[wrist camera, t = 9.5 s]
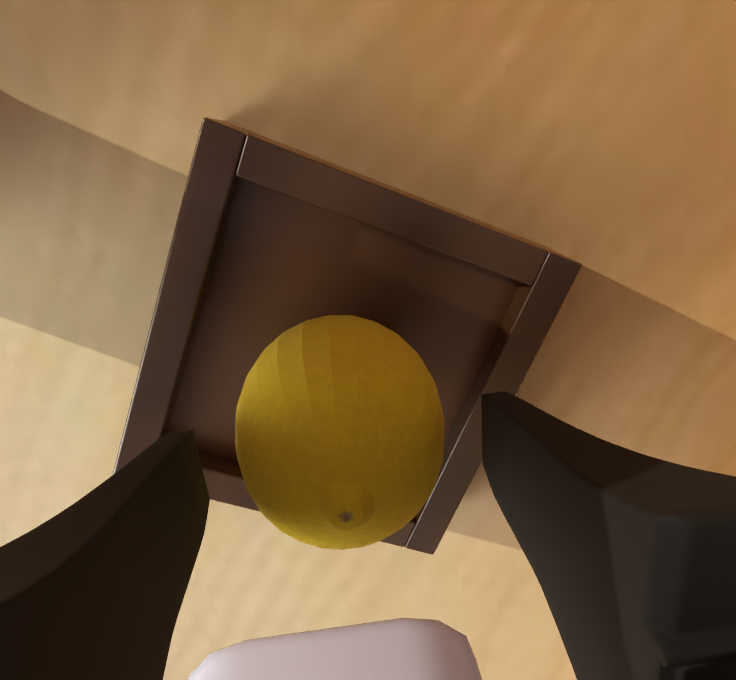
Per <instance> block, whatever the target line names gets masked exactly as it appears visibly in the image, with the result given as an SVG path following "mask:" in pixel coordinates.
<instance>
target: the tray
mask: <svg viewBox="0 0 736 680" xmlns="http://www.w3.org/2000/svg"><path fill="white" fill-rule="evenodd" d="M581 267H582V264H580V263H578V262H576V261H574V260H572V259H570V258H568V257H566V256H564V255H562V254H559V253H557V252H555V251H553V250H551V249H549V248H547V247H544V246H542V245H539V244H537V243H534V242H532V241H529V240H526V239H524V238H521V237H519V236H516V235H514V234H511V233H509V232H506V231H503V230H501V229H498V228H496V227H493V226H491V225H488V224H486V223H483V222H481V221H478V220H475V219H473V218H470V217H468V216H465V215H463V214H460V213H458V212H455V211H452V210H450V209H447V208H445V207H442V206H440V205H437V204H435V203H432V202H429V201H427V200H424V199H422V198H419V197H417V196H414V195H412V194H409V193H406V192H404V191H401V190H399V189H396V188H394V187H391V186H389V185H386V184H383V183H381V182H378V181H376V180H373V179H371V178H368V177H366V176H363V175H360V174H358V173H355V172H353V171H350V170H348V169H345V168H343V167H340V166H337V165H335V164H332V163H330V162H327V161H325V160H322V159H320V158H317V157H314V156H312V155H309V154H307V153H304V152H302V151H299V150H297V149H294V148H291V147H289V146H286V145H284V144H281V143H279V142H276V141H274V140H271V139H268V138H266V137H263V136H261V135H258V134H256V133H253V132H251V131H248V130H245V129H243V128H240V127H238V126H235V125H233V124H230V123H228V122H225V121H222V120H216V119H211V118H204V119H203V120H202V124H201V128H200V132H199V136H198V140H197V144H196V148H195V151H194V155H193V159H192V163H191V167H190V171H189V175H188V179H187V183H186V187H185V191H184V195H183V199H182V203H181V207H180V211H179V215H178V219H177V222H176V226H175V230H174V234H173V238H172V242H171V246H170V250H169V254H168V258H167V262H166V266H165V270H164V274H163V278H162V282H161V286H160V290H159V293H158V297H157V301H156V305H155V309H154V313H153V317H152V321H151V325H150V329H149V333H148V337H147V341H146V345H145V349H144V353H143V357H142V361H141V364H140V368H139V372H138V376H137V380H136V384H135V388H134V392H133V396H132V400H131V404H130V408H129V412H128V416H127V420H126V424H125V428H124V432H123V435H122V439H121V443H120V447H119V451H118V455H117V459H116V463H115V467H114V471H113V475H114V474H115V473H116V472H118V471H119V470H120V469H121V468H123V467H124V466H125V465H126V464H128V463H129V462H130V461H132V460H133V459H134V458H135V457H137V456H138V455H139V454H140V453H142V452H143V451H144V450H145V449H147V448H148V447H149V446H150V445H152V444H153V443H154V442H156V441H157V440H158V439H160V438H161V437H162V436H164V435H166V434H167V433H172V432H180V431H188V430H193V433H194V437H195V441H196V445H197V449H198V453H199V457H200V461H201V465H202V469H203V473H204V477H205V481H206V485H207V489H208V493H209V497H210V499H211V500H215V501H219V502H223V503H228V504H232V505H236V506H240V507H244V508H248V509H252V510H256V511H260V510H259V508H258V507H257V505H256V504H255V502H254V500H253V499H252V497H251V496H250V494H249V492H248V490H247V488H246V486H245V483H244V480H243V476H242V473H241V469H240V466H239V462H238V459H237V454H236V444H235V428H236V409H237V404H238V401H239V398H240V395H241V392H242V389H243V385H244V382H245V380H246V377H247V375H248V373H249V372H250V370H251V368H252V367H253V365H254V364H255V362H256V361H257V359H258V358H259V356H260V355H261V353H262V352H263V351H264V349H265V348H266V347H267V346H269V345H270V344H271V343H272V342H273V341H274V340H275V339H276V338H278V337H279V336H280V335H281V334H282V333H283V332H285V331H286V330H288V329H290V328H292V327H294V326H296V325H298V324H300V323H302V322H304V321H306V320H310V319H314V318H319V317H323V316H327V315H353V316H356V317H360V318H364V319H368V320H372V321H375V322H377V323H379V324H381V325H382V326H384V327H386V328H388V329H390V330H392V331H393V332H395V333H397V334H398V335H399V336H400V337H401V338H402V339H403V340H404V341H406V342H407V343H408V344H409V345H410V346H411V347H412V348H413V349H414V350H415V351H416V352H417V353H418V354H419V356H420V357H421V359H422V361H423V362H424V364H425V366H426V367H427V369H428V371H429V372H430V374H431V376H432V378H433V379H434V381H435V384H436V387H437V391H438V395H439V398H440V402H441V406H442V410H443V415H444V454H443V461H442V465H441V468H440V471H439V474H438V478H437V481H436V484H435V487H434V489H433V492H432V493H431V495H430V496H429V498H428V499H427V501H426V502H425V504H424V505H423V507H422V508H421V510H420V511H419V512H418V514H417V515H416V516H415V517H414V518H413V519H412V520H411V521H409V522H408V523H407V524H406V525H405V526H404V527H403V528H402V529H400V530H399V531H397V532H395V533H394V534H392V535H390V536H389V537H387V538H385V539H383V540H381V542H386V543H390V544H394V545H398V546H402V547H404V546H405V547H406V548H408V549H412V550H416V551H421V552H425V553H429V554H434V552H435V550H436V548H437V546H438V544H439V542H440V541H441V539H442V537H443V535H444V533H445V531H446V529H447V527H448V525H449V523H450V521H451V519H452V517H453V515H454V513H455V511H456V509H457V508H458V506H459V504H460V502H461V500H462V498H463V496H464V494H465V492H466V490H467V488H468V486H469V484H470V482H471V480H472V478H473V476H474V474H475V473H476V471H477V469H478V467H479V465H480V463H481V461H482V409H481V394H487V393H495V392H503V391H506V392H508V393H510V394H513V395H516V393H517V391H518V389H519V387H520V385H521V383H522V381H523V379H524V377H525V375H526V373H527V371H528V370H529V368H530V366H531V364H532V362H533V360H534V358H535V356H536V354H537V352H538V350H539V348H540V346H541V344H542V342H543V340H544V338H545V336H546V335H547V333H548V331H549V329H550V327H551V325H552V323H553V321H554V319H555V317H556V315H557V313H558V311H559V309H560V307H561V305H562V303H563V301H564V300H565V298H566V296H567V294H568V292H569V290H570V288H571V286H572V284H573V282H574V280H575V278H576V276H577V274H578V272H579V270H580V268H581Z"/></svg>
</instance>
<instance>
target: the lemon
mask: <svg viewBox="0 0 736 680" xmlns="http://www.w3.org/2000/svg"><path fill="white" fill-rule="evenodd" d="M235 444H236V454H237V459H238V462H239V466H240V469H241V473H242V476H243V480H244V483H245V486H246V488H247V490H248V492H249V494H250V496H251V497H252V499H253V500H254V502H255V504H256V505H257V507H258V508H259V510H260V512H261V513H262V514H263V515H264V516H265V517H266V518H267V519H268V520H269V521H271V522H272V523H273V524H274V525H275V526H276V527H277V528H278V529H279V530H280V531H282V532H283V533H285V534H287V535H289V536H291V537H293V538H294V539H296V540H298V541H300V542H303V543H307V544H310V545H314V546H317V547H320V548H327V549H341V550H343V549H351V548H359V547H364V546H367V545H370V544H373V543H376V542H379V541H381V540H383V539H385V538H387V537H389V536H390V535H392V534H394V533H395V532H397V531H399V530H400V529H402V528H403V527H404V526H405V525H406V524H407V523H408V522H409V521H411V520H412V519H413V518H414V517H415V516H416V515H417V514H418V512H419V511H420V510H421V508H422V507H423V505H424V504H425V502H426V501H427V499H428V498H429V496H430V495H431V493H432V492H433V489H434V487H435V484H436V481H437V478H438V474H439V471H440V468H441V465H442V461H443V454H444V415H443V410H442V406H441V402H440V398H439V395H438V391H437V387H436V384H435V381H434V379H433V378H432V376H431V374H430V372H429V371H428V369H427V367H426V366H425V364H424V362H423V361H422V359H421V357H420V356H419V354H418V353H417V352H416V351H415V350H414V349H413V348H412V347H411V346H410V345H409V344H408V343H407V342H406V341H404V340H403V339H402V338H401V337H400V336H399V335H398V334H397V333H395V332H393V331H392V330H390V329H388V328H386V327H384V326H382V325H381V324H379V323H377V322H375V321H372V320H368V319H364V318H360V317H356V316H353V315H327V316H323V317H319V318H314V319H310V320H306V321H304V322H302V323H300V324H298V325H296V326H294V327H292V328H290V329H288V330H286V331H285V332H283V333H282V334H281V335H280V336H279V337H278V338H276V339H275V340H274V341H273V342H272V343H271V344H270V345H269V346H267V347H266V348H265V349H264V351H263V352H262V353H261V355H260V356H259V358H258V359H257V361H256V362H255V364H254V365H253V367H252V368H251V370H250V372H249V373H248V375H247V377H246V380H245V382H244V385H243V389H242V392H241V395H240V398H239V401H238V404H237V409H236V428H235Z"/></svg>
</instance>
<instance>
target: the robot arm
mask: <svg viewBox="0 0 736 680" xmlns="http://www.w3.org/2000/svg"><path fill="white" fill-rule="evenodd" d="M481 409H482V461H483V466H484V469H485V472H486V475H487V478H488V480H489V483H490V486H491V488H492V491H493V494H494V496H495V498H496V500H497V502H498V504H499V506H500V508H501V510H502V512H503V514H504V516H505V518H506V520H507V522H508V523H509V525H510V527H511V529H512V531H513V533H514V535H515V537H516V538H517V540H518V542H519V544H520V546H521V548H522V550H523V552H524V553H525V555H526V557H527V559H528V561H529V563H530V565H531V567H532V568H533V570H534V573H535V575H536V577H537V579H538V581H539V583H540V585H541V587H542V590H543V592H544V595H545V597H546V600H547V602H548V605H549V607H550V610H551V612H552V615H553V617H554V620H555V622H556V625H557V627H558V630H559V633H560V635H561V638H562V640H563V643H564V646H565V648H566V651H567V654H568V656H569V659H570V661H571V664H572V667H573V669H574V672H575V675H576V678H577V680H736V477H735V476H730V475H725V474H719V473H714V472H709V471H704V470H700V469H695V468H691V467H687V466H682V465H679V464H675V463H671V462H668V461H664V460H660V459H657V458H653V457H650V456H647V455H643V454H640V453H637V452H634V451H631V450H629V449H626V448H623V447H620V446H618V445H615V444H612V443H610V442H607V441H605V440H602V439H600V438H597V437H595V436H593V435H591V434H588V433H586V432H584V431H582V430H580V429H577V428H575V427H573V426H571V425H569V424H567V423H565V422H563V421H561V420H559V419H557V418H555V417H553V416H552V415H550V414H548V413H546V412H544V411H542V410H540V409H539V408H537V407H535V406H533V405H531V404H529V403H528V402H526V401H524V400H522V399H520V398H518V397H516V396H515V395H513V394H510V393H508V392H506V391H503V392H495V393H487V394H481ZM209 501H210V497H209V493H208V489H207V485H206V481H205V477H204V473H203V469H202V465H201V461H200V457H199V453H198V449H197V445H196V441H195V437H194V433H193V430H188V431H180V432H172V433H167V434H166V435H164V436H162V437H161V438H160V439H158V440H157V441H156V442H154V443H153V444H152V445H150V446H149V447H148V448H147V449H145V450H144V451H143V452H142V453H140V454H139V455H138V456H137V457H135V458H134V459H133V460H132V461H130V462H129V463H128V464H126V465H125V466H124V467H123V468H121V469H120V470H119V471H118V472H116V473H115V474H114V475H113V476H111V477H110V478H109V479H107V480H106V481H105V482H103V483H102V484H101V485H99V486H98V487H96V488H95V489H94V490H92V491H91V492H90V493H88V494H87V495H85V496H84V497H83V498H81V499H80V500H79V501H77V502H76V503H74V504H73V505H71V506H70V507H68V508H67V509H65V510H64V511H62V512H61V513H59V514H58V515H56V516H55V517H53V518H51V519H50V520H48V521H46V522H45V523H43V524H41V525H40V526H38V527H37V528H35V529H33V530H31V531H30V532H28V533H26V534H24V535H22V536H21V537H19V538H17V539H15V540H13V541H11V542H9V543H7V544H6V545H4V546H2V547H0V680H163V675H164V671H165V666H166V661H167V657H168V652H169V647H170V642H171V638H172V634H173V631H174V627H175V623H176V620H177V617H178V613H179V610H180V607H181V604H182V601H183V598H184V595H185V592H186V589H187V586H188V583H189V580H190V577H191V574H192V571H193V568H194V564H195V561H196V558H197V555H198V552H199V549H200V546H201V542H202V539H203V536H204V531H205V525H206V520H207V514H208V507H209ZM188 680H482V678H481V675H480V671H479V668H478V665H477V661H476V658H475V656H474V654H473V651H472V649H471V647H470V644H469V642H468V640H467V637H466V636H465V635H463V634H461V633H460V632H458V631H456V630H455V629H453V628H451V627H449V626H448V625H446V624H444V623H442V622H441V621H438V620H429V619H412V618H399V619H392V620H385V621H378V622H371V623H364V624H357V625H350V626H343V627H335V628H328V629H321V630H314V631H307V632H300V633H293V634H286V635H279V636H272V637H265V638H258V639H250V640H246V641H243V642H240V643H237V644H234V645H231V646H228V647H226V648H223V649H220V650H217V651H215V652H212V653H210V654H209V655H208V656H207V657H206V658H205V659H204V660H203V661H202V662H201V663H200V665H199V666H198V667H197V668H196V669H195V670H194V671H193V672H192V673H191V674H190V675H189V677H188Z"/></svg>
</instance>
